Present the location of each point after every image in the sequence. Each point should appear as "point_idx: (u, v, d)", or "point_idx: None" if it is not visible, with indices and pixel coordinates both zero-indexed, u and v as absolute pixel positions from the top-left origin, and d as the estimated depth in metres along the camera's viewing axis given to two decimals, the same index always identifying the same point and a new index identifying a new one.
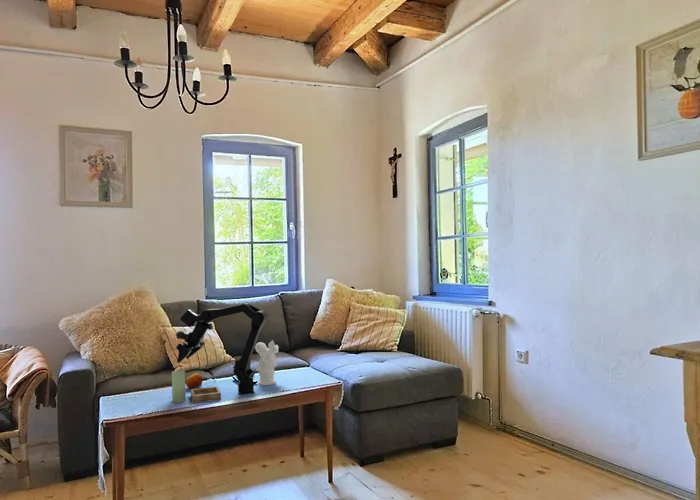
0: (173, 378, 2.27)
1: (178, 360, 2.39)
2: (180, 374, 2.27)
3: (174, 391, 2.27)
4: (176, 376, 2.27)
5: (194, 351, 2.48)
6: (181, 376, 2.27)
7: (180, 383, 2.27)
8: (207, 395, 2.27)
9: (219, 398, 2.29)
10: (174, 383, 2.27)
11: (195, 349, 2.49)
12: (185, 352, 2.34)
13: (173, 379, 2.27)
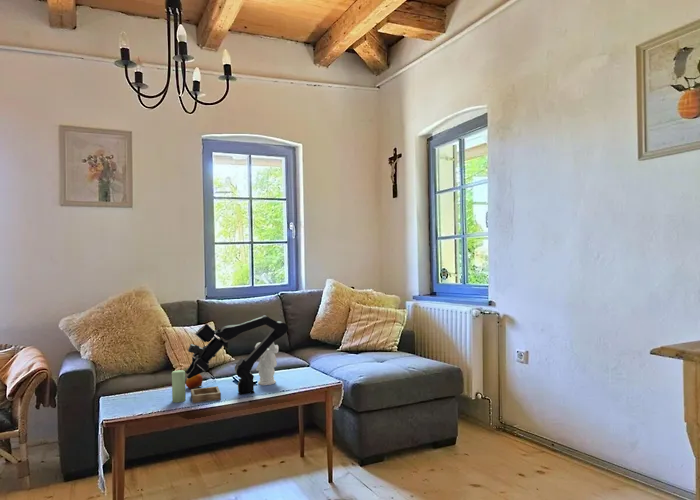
0: (173, 378, 2.27)
1: (189, 375, 2.26)
2: (180, 374, 2.27)
3: (174, 391, 2.27)
4: (176, 376, 2.27)
5: None
6: (181, 376, 2.27)
7: (180, 383, 2.27)
8: (207, 395, 2.27)
9: (219, 398, 2.29)
10: (174, 383, 2.27)
11: None
12: (205, 369, 2.25)
13: (173, 379, 2.27)
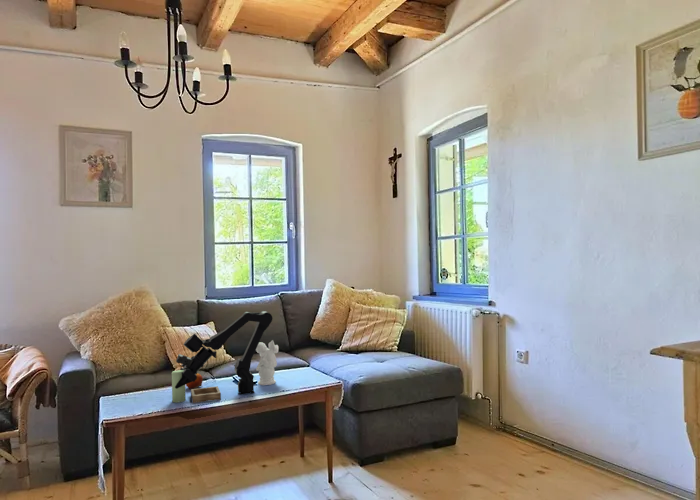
0: (173, 378, 2.27)
1: (177, 385, 2.26)
2: (180, 374, 2.27)
3: (174, 391, 2.27)
4: (176, 376, 2.27)
5: None
6: (181, 376, 2.27)
7: None
8: (207, 395, 2.27)
9: (219, 398, 2.29)
10: (174, 383, 2.27)
11: None
12: (193, 379, 2.23)
13: (173, 379, 2.27)
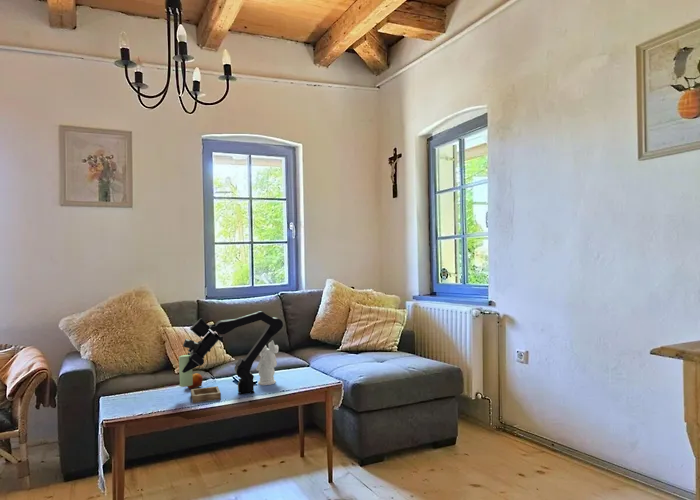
0: (180, 362, 2.28)
1: (184, 370, 2.27)
2: (187, 358, 2.28)
3: (181, 375, 2.28)
4: (183, 361, 2.28)
5: None
6: (188, 360, 2.28)
7: None
8: (207, 395, 2.27)
9: (219, 398, 2.29)
10: (181, 367, 2.28)
11: None
12: (200, 363, 2.24)
13: (180, 364, 2.28)
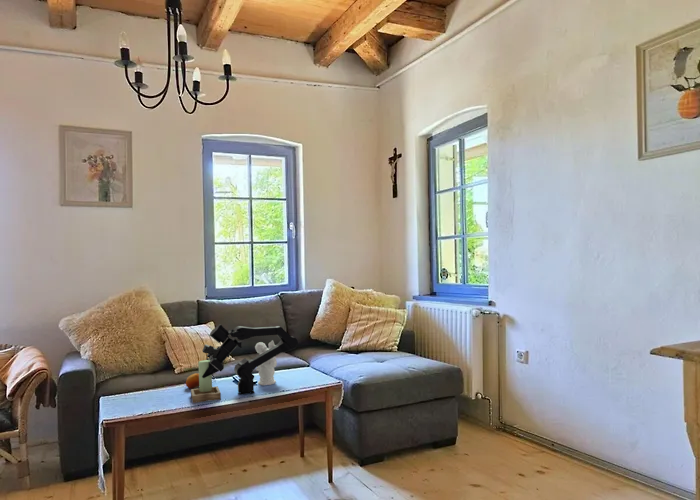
0: (200, 368, 2.31)
1: (204, 375, 2.29)
2: (207, 364, 2.31)
3: (201, 380, 2.30)
4: (203, 366, 2.30)
5: None
6: None
7: None
8: (207, 395, 2.27)
9: (219, 398, 2.29)
10: (201, 373, 2.30)
11: None
12: (220, 369, 2.26)
13: (200, 369, 2.31)
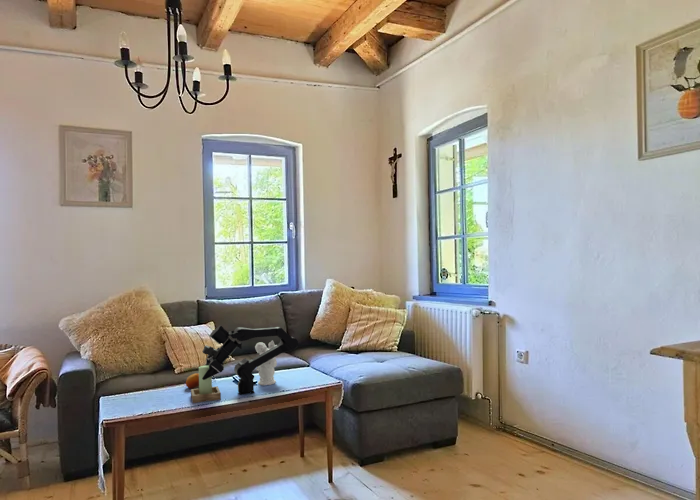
0: (200, 373, 2.31)
1: (204, 377, 2.28)
2: (207, 369, 2.31)
3: (201, 386, 2.30)
4: (203, 371, 2.30)
5: None
6: None
7: (207, 378, 2.31)
8: (207, 395, 2.27)
9: (219, 398, 2.29)
10: (201, 378, 2.30)
11: None
12: (220, 370, 2.26)
13: (200, 374, 2.31)
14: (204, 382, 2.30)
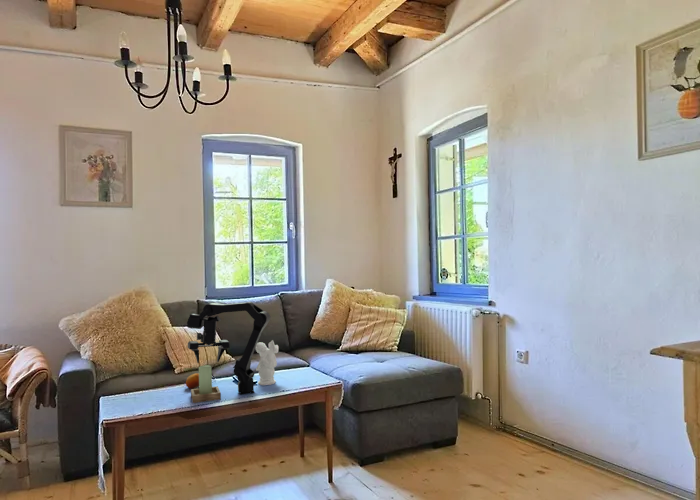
0: (200, 373, 2.31)
1: (197, 360, 2.40)
2: (207, 369, 2.31)
3: (201, 386, 2.30)
4: (203, 371, 2.30)
5: (219, 352, 2.43)
6: (208, 371, 2.31)
7: (207, 378, 2.31)
8: (207, 395, 2.27)
9: (219, 398, 2.29)
10: (201, 378, 2.30)
11: (220, 350, 2.43)
12: (189, 347, 2.36)
13: (200, 374, 2.31)
14: (204, 382, 2.30)
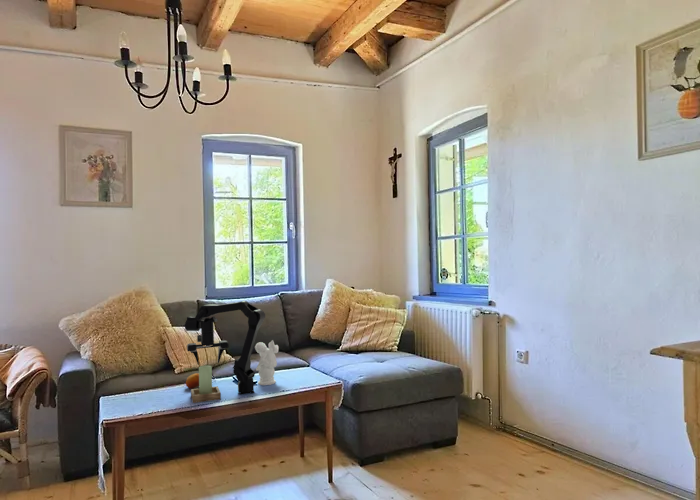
0: (200, 373, 2.30)
1: (197, 362, 2.42)
2: (207, 369, 2.31)
3: (201, 386, 2.30)
4: (204, 371, 2.30)
5: (218, 353, 2.44)
6: (208, 371, 2.31)
7: (207, 378, 2.31)
8: (207, 395, 2.27)
9: (219, 398, 2.29)
10: (201, 378, 2.30)
11: (219, 351, 2.44)
12: (187, 349, 2.38)
13: (200, 374, 2.30)
14: (204, 382, 2.30)
